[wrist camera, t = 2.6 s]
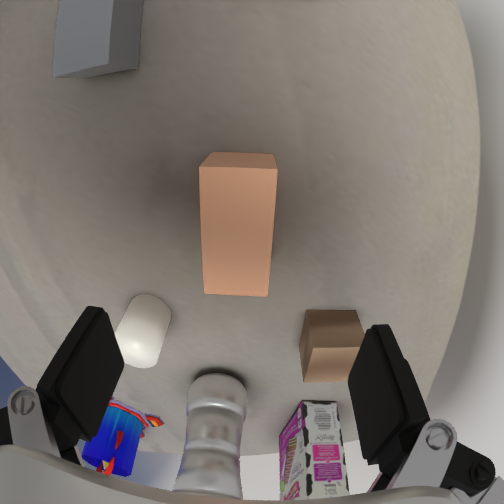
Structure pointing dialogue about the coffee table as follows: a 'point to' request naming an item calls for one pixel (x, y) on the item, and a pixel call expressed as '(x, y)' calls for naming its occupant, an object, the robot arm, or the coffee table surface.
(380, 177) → the coffee table surface
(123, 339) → the cream cylinder
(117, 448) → the fantasy tower
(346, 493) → the candy bar box
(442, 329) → the coffee table surface
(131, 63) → the grey short brick
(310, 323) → the walnut square block
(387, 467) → the robot arm
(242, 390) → the plastic bottle
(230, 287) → the terracotta long brick
